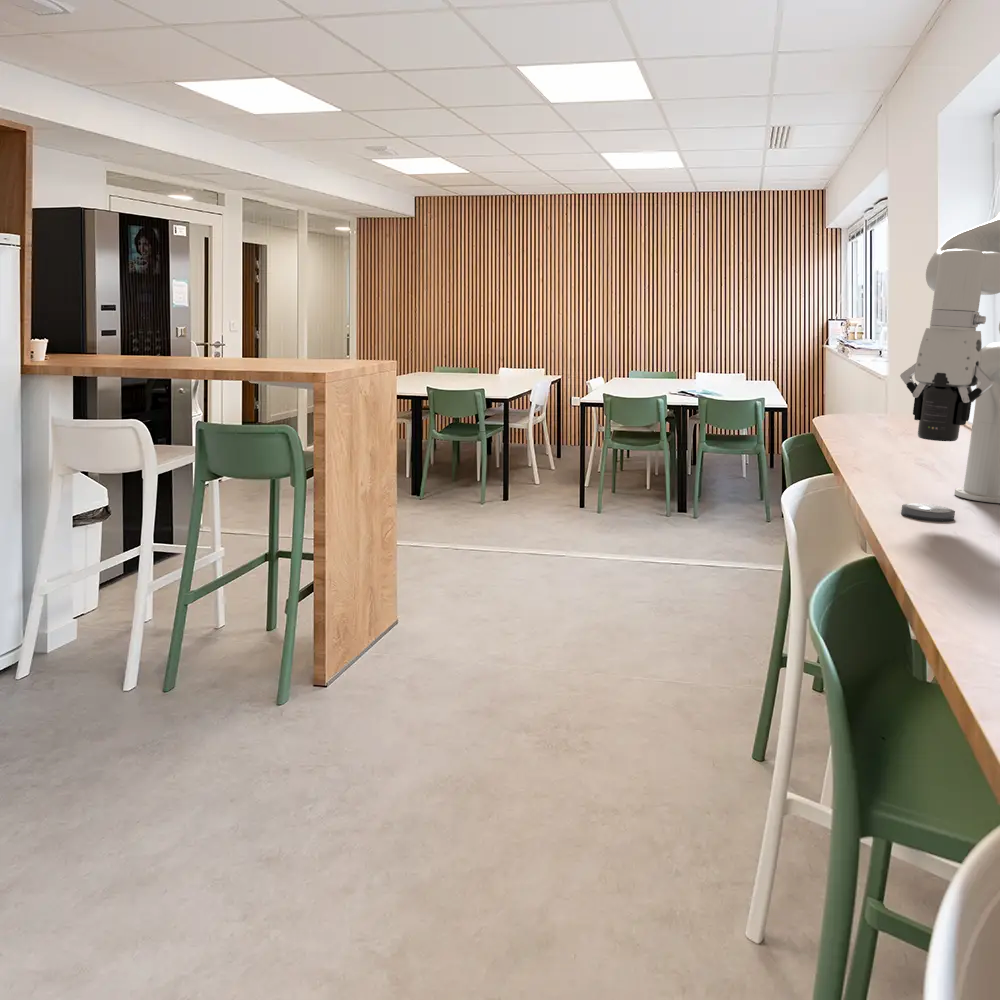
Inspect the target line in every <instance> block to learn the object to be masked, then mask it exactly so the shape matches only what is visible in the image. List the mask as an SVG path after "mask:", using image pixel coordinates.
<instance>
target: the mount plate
mask: <svg viewBox="0 0 1000 1000" xmlns="http://www.w3.org/2000/svg"><path fill="white" fill-rule="evenodd" d="M900 511H901V512H900V514H901V515H902V516H904V517H908V518H911V519H916V520H921V521H927V522H929V521H930V522H938V523H939V522H945V523H946V522H953V521H954V520H955V515H956V514H955V513H956V510H954V509H952V508H948V507H946V506H941V505H938V504H932V503H931V504H930V503H929V504H928V503H917V502H916V503H915V502H914V503H905V504H902V505H901V509H900Z"/></svg>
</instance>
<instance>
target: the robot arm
mask: <svg viewBox="0 0 1000 1000" xmlns="http://www.w3.org/2000/svg"><path fill="white" fill-rule="evenodd" d="M925 281H926V284H927V286H928V288H929V289H930V290H932V291H933V301H932V308H931V315H930V321H929V327H926V328H925V330H924V333H923V336H922V339H921V341H920V346H919V349H918V353H917V358H916V362H915V363H914V364H912V365H910V367H908V368H907V369H905V370H904V371H903V372H902V373H901V374H900V375H899V377H900V379H901V381H903V383H904V385H906V388H907V389H908V390H909V391H910V393H911V394H912V397H913V398H914V402H913V407H912V408H913V409H912V415H913V416H914V417H913V419H914V421H919V418H920V410H921V402H922V394H923V391H924V389H925V388H926V387H928V386H930V385H931V384H933V383H934V382H932V380H934V376H935V374H937V373H946V377H947V378H948V381H949V384H947V385H949V386H954V387H958V389H959V392H960V395H961V398H962V400H961V402H959V404H958V410H957V417H956V424H957V425H960V426H964V425H966V424H967V422H968V421H969V419H970V414H971V407H972V403H974V402H975V404H974V412H973V419H972V426H971V433H970V434H971V435H970V439H969V440H970V441H969V447H968V454H967V461H966V467H965V474H964V482H963V486H962V487H956V488H955V489H954V495H955V496H957V497H959V498H962V499H966V500H971V501H976V502H982V503H983V502H984V503H991V504H1000V341H998V342H997V341H996V342H991V343H989V344H987V345H985V346H983V345H982V331H981V330H977V328H978V326H979V325H985V324H986V321H987V317H986V316H984V315H983V316H982V315H980V312H979V308H980V303H981V296H983V295H984V296H987V295H988V296H989V295H997V294H999V293H1000V210H999V211H998V213H996V215H994V217H993V218H992V219H991V220H990V221H987V222H984V223H982V224H979V225H976V226H974V227H972V228H969V229H966V230H962V231H960V232H958V233H956V234H954V235H952V236H951V237H949V238H947V239H946V240H945V241H944V242H942V244H941V245H939V247H938V248H937V249H936V251H934V253H932V256H931V258H930V259H929V261H928V263H927V265H926V269H925ZM998 332H999V334H1000V322H999V323H998ZM982 346H983V347H982ZM913 376H914V379H915V381H916V382H917V383H918V384H917V383H916V382H915V381H914V379H913ZM972 387H976V388H974V389H973V390H972Z"/></svg>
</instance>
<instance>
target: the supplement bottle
mask: <svg viewBox="0 0 1000 1000" xmlns="http://www.w3.org/2000/svg"><path fill="white" fill-rule="evenodd" d="M932 382H934V383H933V384H931V385H930V386H928V387H926V388H925V389H924V391H923V394H922V402H921V410H920V418H919V420H918V429H917V436H918V438H919V439H922V440H928V441H935V442H936V441H937V442H956V441H958V439H959V433H960V427H961V425H957V424H956V417H957V410H958V404H959V402H961V400H962V398H961V395H960V392H959V389H958V387H954V386H949V385H947V384H949V381H948V378H947V377H946V373H937V374H935V376H934V380H932Z"/></svg>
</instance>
